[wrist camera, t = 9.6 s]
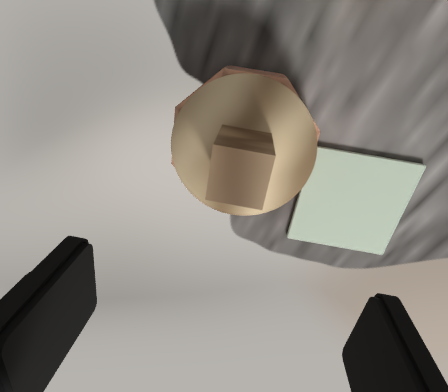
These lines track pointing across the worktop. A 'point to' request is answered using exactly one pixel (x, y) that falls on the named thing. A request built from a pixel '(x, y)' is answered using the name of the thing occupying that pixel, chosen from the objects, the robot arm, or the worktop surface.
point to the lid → (244, 144)
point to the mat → (353, 200)
